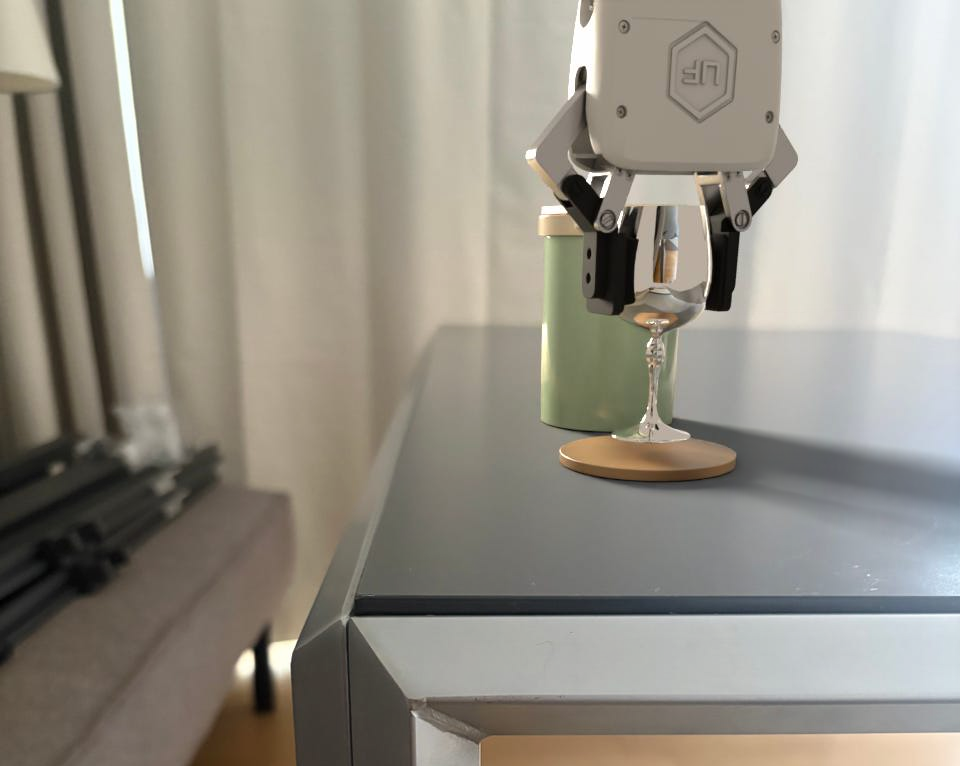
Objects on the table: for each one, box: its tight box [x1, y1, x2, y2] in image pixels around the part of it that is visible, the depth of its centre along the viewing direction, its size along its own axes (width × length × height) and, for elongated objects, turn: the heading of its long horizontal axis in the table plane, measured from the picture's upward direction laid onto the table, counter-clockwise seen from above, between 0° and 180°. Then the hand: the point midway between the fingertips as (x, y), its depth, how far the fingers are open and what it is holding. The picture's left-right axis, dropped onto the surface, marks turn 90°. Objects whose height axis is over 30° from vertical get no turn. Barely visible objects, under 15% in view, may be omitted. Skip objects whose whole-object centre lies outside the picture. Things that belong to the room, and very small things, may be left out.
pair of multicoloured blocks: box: [541, 204, 569, 215], centre depth 64 cm, size 4×4×2 cm
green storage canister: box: [537, 203, 688, 433], centre depth 67 cm, size 10×10×14 cm
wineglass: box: [610, 205, 715, 444], centre depth 54 cm, size 6×6×12 cm
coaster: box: [558, 434, 737, 482], centre depth 57 cm, size 10×10×1 cm
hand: (658, 308), depth 54 cm, fingers closed on wineglass, 5 cm apart
